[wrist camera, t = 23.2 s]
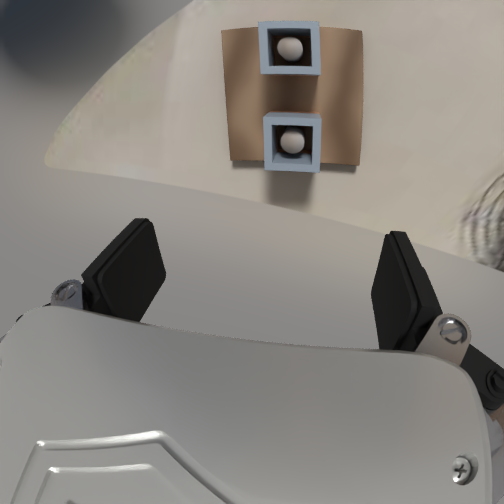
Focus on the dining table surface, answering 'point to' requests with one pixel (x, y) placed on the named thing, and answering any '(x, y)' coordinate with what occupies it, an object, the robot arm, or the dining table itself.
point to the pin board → (295, 93)
